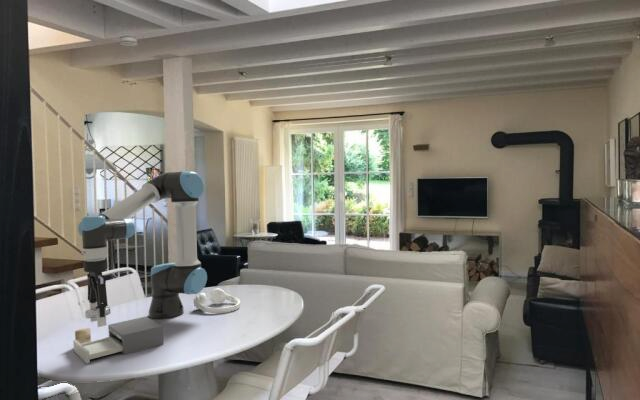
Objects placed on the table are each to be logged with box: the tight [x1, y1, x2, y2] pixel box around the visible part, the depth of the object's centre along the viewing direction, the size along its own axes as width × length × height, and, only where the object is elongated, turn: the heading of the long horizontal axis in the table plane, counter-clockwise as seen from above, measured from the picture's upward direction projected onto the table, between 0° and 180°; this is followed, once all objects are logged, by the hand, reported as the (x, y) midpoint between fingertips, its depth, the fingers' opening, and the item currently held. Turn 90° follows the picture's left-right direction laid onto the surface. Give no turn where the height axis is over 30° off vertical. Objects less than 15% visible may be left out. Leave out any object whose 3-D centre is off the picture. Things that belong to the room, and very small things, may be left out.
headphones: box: [193, 287, 241, 314], centre depth 214 cm, size 20×8×20 cm
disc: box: [84, 306, 111, 319], centre depth 160 cm, size 8×8×2 cm
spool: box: [74, 327, 92, 344], centre depth 167 cm, size 5×5×6 cm
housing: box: [107, 316, 164, 356], centre depth 168 cm, size 14×17×7 cm
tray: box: [72, 336, 123, 365], centre depth 160 cm, size 14×17×4 cm
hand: (98, 323), depth 160 cm, fingers closed on disc, 8 cm apart
